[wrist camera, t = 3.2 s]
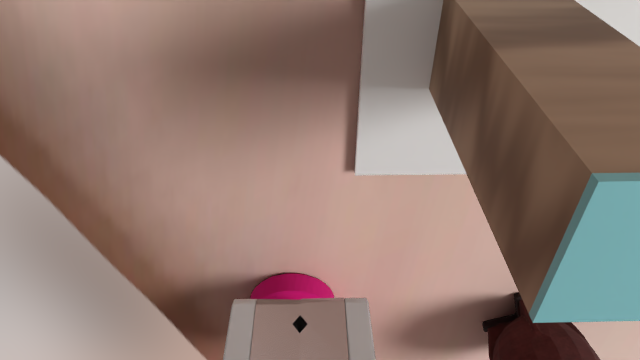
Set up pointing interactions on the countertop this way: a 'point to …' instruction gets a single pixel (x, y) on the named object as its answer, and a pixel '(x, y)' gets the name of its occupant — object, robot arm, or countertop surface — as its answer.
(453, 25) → the walnut block
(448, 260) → the countertop surface
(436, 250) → the countertop surface
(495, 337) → the mate gourd
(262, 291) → the pepper mill
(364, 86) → the white flat rectangular panel
